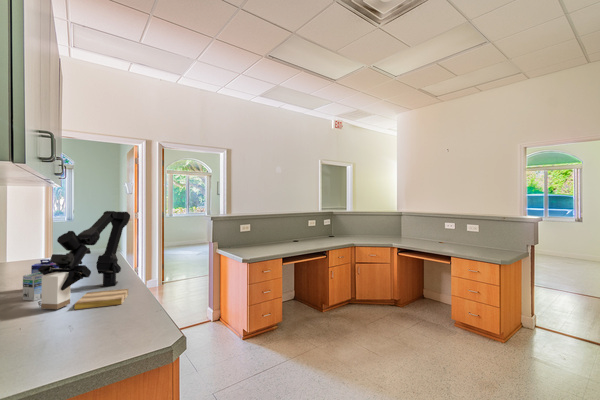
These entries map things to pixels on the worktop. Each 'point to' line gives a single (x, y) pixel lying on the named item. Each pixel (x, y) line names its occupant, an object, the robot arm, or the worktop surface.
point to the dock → (101, 299)
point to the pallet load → (54, 291)
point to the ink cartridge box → (36, 266)
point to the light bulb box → (32, 286)
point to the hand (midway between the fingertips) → (52, 289)
